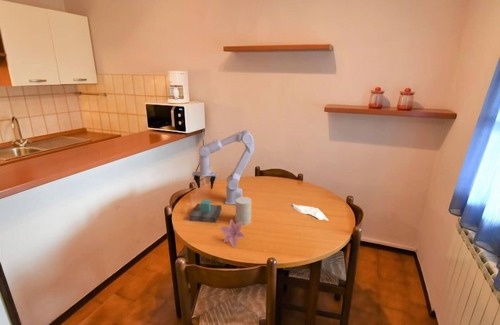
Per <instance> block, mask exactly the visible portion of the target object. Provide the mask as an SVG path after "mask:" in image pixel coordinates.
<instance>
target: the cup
mask: <svg viewBox="0 0 500 325" xmlns="http://www.w3.org/2000/svg"><path fill="white" fill-rule="evenodd" d="M242 221H243V224H242V226H247V225H249V224H251V223H252V198H250V197H248V196H242V197H239V198H237V199H236V204H235V224H237V223H239V222H242Z"/></svg>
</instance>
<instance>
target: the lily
mask: <svg viewBox="0 0 500 325" xmlns="http://www.w3.org/2000/svg"><path fill="white" fill-rule="evenodd" d="M242 224H243V221H242V222H239V223H235V222H234V221H233V219H230V222H229V226H228V225H227V226H222V227H220V231H222V233H223V234H224V235H226V236H225V237H224V240H223V243H227V242H230V244H231V246H232V248H234V249H235V248H236V246H237V241H238V239H242V238H245V236H246V235H245V234H243V233H242V232H241V229H242V227H243V225H242Z"/></svg>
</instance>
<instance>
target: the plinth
mask: <svg viewBox="0 0 500 325" xmlns="http://www.w3.org/2000/svg"><path fill="white" fill-rule="evenodd" d="M222 211H223V210H222V204H221V205H220V204H219V205H218V204H211V210H210V211H209V212H201V205H200V203H196V205H195V206H194V208H193V209H192V211H191V212H190V214H189V215H188V216H189V218H188V219H189V221H191V222H202V223H203V222H204V223H215V224H216V222H217V220H218V219H219V216H220V214H221V212H222Z"/></svg>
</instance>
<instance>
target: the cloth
mask: <svg viewBox="0 0 500 325" xmlns="http://www.w3.org/2000/svg"><path fill="white" fill-rule="evenodd" d="M290 205H291V206H293V207H292V209H294V210H296V211H297V212H299V213H301V214H304V215H310V216H313V217H315V219H316V218H317V219H318V220H319V221H321V220H325V221H327V222H328V221H329V219H328V218H327V217H326V215H325V214H324V213H323V211H321V210H320V209H319V208H318V207H313V206H306V205H297V204H294V203H290Z"/></svg>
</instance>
